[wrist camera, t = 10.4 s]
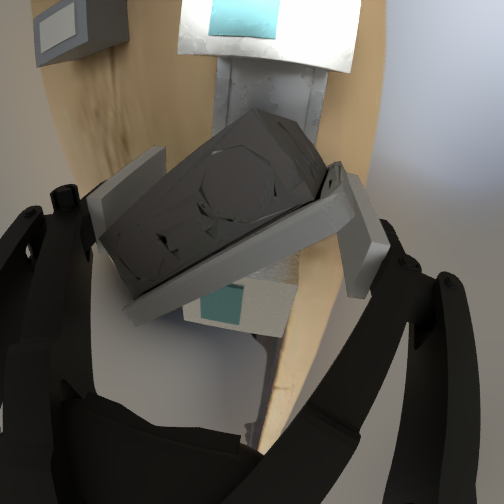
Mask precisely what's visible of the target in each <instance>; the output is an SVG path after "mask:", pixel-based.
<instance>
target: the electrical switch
mask: <svg viewBox="0 0 504 504" xmlns="http://www.w3.org/2000/svg"><path fill="white" fill-rule="evenodd" d="M255 109H256V108H255ZM256 111H257V112H258V114H259V115H260V117H261V118H262V120H263V122H264V123H265V125H266V126H267V128H268V129H269V131H270V133H271V134H272V135H271V134H270V133H269V131H268V130H267V128H266V127H265V126H264V124H263V123H262V121H261V120H260V119H259V117H258V116H257V114H256V113H255V112H254V110H253V109H251V110H249V111H248V112H247V113H245V114H244V115H242V116H241V117H239V118H238V119H237V120H235V121H234V122H232V123H231V124H230V125H228V126H227V127H225V128H224V129H223V130H221V131H220V132H219V133H217V134H216V135H215V136H213V137H212V138H211V139H209V140H208V141H207V142H206V143H204V144H203V145H202V146H200V147H199V148H198V149H197V150H195V151H194V152H193V153H192V154H190V155H189V156H188V157H187V158H185V159H184V160H183V161H182V162H180V163H179V164H178V165H177V166H176V167H174V168H173V169H172V170H171V171H170V172H169V173H167V174H166V175H165V176H164V177H163V178H162V179H160V180H159V181H158V182H157V183H156V184H155V185H154V186H153V187H151V188H150V189H149V190H148V191H147V192H146V193H145V194H144V195H143V196H141V197H140V198H139V199H138V200H137V201H136V202H135V203H134V204H133V205H132V206H131V207H130V208H129V209H128V210H127V211H126V212H124V213H123V214H122V215H121V216H120V217H119V218H118V219H117V220H116V221H115V222H114V223H113V224H112V225H111V226H110V227H109V228H108V229H107V230H106V231H105V232H104V233H103V234H102V235H101V236H100V238H99V240H100V242H101V244H102V245H103V247H104V248H105V250H106V251H107V253H108V254H109V255H110V257H111V258H112V260H113V261H114V263H115V265H116V267H117V270H118V272H119V275H120V277H121V278H122V280H123V281H124V283H125V284H126V285H127V287H128V288H129V291H130V293H131V295H132V297H133V300H132V301H130V302H129V303H128V304H127V305H125V306H124V307H123V309H122V312H123V313H124V314H125V315H126V316H127V317H128V318H129V320H130V321H131V322H132V323H133V324H134V325H135V326H139V325H141V324H143V323H145V322H148V321H150V320H152V319H154V318H157V317H159V316H161V315H163V314H165V313H168V312H170V311H172V310H175V309H177V308H179V307H181V306H183V305H186V304H188V303H190V302H192V301H194V300H196V299H199V298H201V297H203V296H205V295H207V294H209V293H212V292H214V291H216V290H218V289H220V288H222V287H225V286H227V285H229V284H231V283H233V282H235V281H237V280H240V279H242V278H244V277H246V276H248V275H250V274H252V273H254V272H256V271H259V270H261V269H263V268H265V267H267V266H269V265H271V264H273V263H275V262H277V261H280V260H282V259H284V258H286V257H288V256H290V255H292V254H294V253H296V252H298V251H300V250H302V249H304V248H307V247H309V246H311V245H313V244H315V243H317V242H319V241H321V240H323V239H325V238H327V237H329V236H331V235H333V234H335V233H337V232H338V231H339V230H340V229H342V228H343V227H344V226H345V225H346V224H347V223H348V222H349V221H350V220H351V219H352V218H353V217H354V216H355V211H354V206H353V201H352V195H351V190H350V185H349V181H348V176H347V173H346V171H345V169H344V167H343V165H342V163H341V161H338V162H334V163H332V164H330V165H329V166H327V167H326V166H325V164H324V162H323V160H322V159H321V157H320V155H319V153H318V152H317V150H316V148H315V147H314V145H313V144H312V142H311V141H310V140H309V139H308V138H307V136H306V135H305V134H304V132H303V131H302V129H301V128H300V126H299V125H298V123H297V122H296V121H293V120H290V119H287V118H284V117H281V116H278V115H275V114H272V113H269V112H266V111H262V110H259V109H256ZM272 136H273V137H272ZM220 150H222V151H220ZM214 151H220V152H217V153H215V154H212V153H213V152H214Z"/></svg>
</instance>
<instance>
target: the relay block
mask: <svg viewBox="0 0 504 504" xmlns="http://www.w3.org/2000/svg"><path fill="white" fill-rule="evenodd" d="M126 41H129V30H128V16H127V0H61V1H60V2H58V3H56V4H55V5H53V6H52V7H50V8H49V9H47V10H46V11H44V12H43V13H41V14H40V15H38V16H37V17H35V18H34V43H35V55H36V66H37V68H38V67H42V66H47V65H51V64H56V63H61V62H67V61H73V60H79V59H82V58H84V57H86V56H89V55H91V54H94V53H96V52H99V51H101V50H104V49H106V48H109V47H112V46H115V45H117V44H120V43H123V42H126Z"/></svg>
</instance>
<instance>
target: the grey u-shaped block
mask: <svg viewBox="0 0 504 504" xmlns="http://www.w3.org/2000/svg"><path fill="white" fill-rule="evenodd" d="M360 5H361V0H183V2H182V10H181V19H180V29H179V39H178V51H177V55H197V56H211V57H218V62H217V73H216V85H215V97H214V110H213V125H212V137H213V136H215V135H216V134H217V133H219V132H220V131H221V130H223V129H224V128H225V127H227V126H228V125H230V124H231V123H232V122H234V121H235V120H237V119H238V118H239V117H241V116H242V115H244V114H245V113H247V112H248V111H249V110H251V109H253V110H254V112H255V113H256V114H257V116H258V117H259V119H260V120H261V121H262V123H263V124H264V126H265V127H266V128H267V126H266V125H265V123H264V122H263V120H262V118H261V117H260V115H259V114H258V112H257V111H256V109H259V110H262V111H266V112H269V113H272V114H275V115H278V116H281V117H284V118H287V119H290V120H293V121H296V122H297V123H298V125H299V126H300V128H301V129H302V131H303V132H304V134H305V135H306V136H307V138H308V139H309V140H310V141H311V142H312V144H313V145H314V147H315V143H316V138H317V132H318V127H319V122H320V117H321V111H322V106H323V100H324V95H325V89H326V83H327V78H328V72H329V71H331V72H340V73H348V74H350V71H351V65H352V59H353V53H354V47H355V40H356V34H357V27H358V20H359V12H360ZM255 108H256V109H255ZM267 130H268V131H269V129H268V128H267ZM269 133H270V131H269ZM270 134H271V133H270ZM271 135H272V134H271ZM272 137H273V136H272ZM220 151H222V150H220ZM220 151H214V152H213V153H212V154H215V153H217V152H220ZM298 279H299V251H298V252H296V253H294V254H292V255H290V256H288V257H286V258H284V259H282V260H280V261H277V262H275V263H273V264H271V265H269V266H267V267H265V268H263V269H261V270H259V271H256V272H254V273H252V274H250V275H248V276H246V277H244V278H242V279H240V280H237V281H235V282H233V283H231V284H229V285H227V286H225V287H222V288H220V289H218V290H216V291H214V292H212V293H209V294H207V295H205V296H203V297H201V298H199V299H196V300H194V301H192V302H190V303H188V304H186V305H183V314H184V320H186V321H191V322H196V323H201V324H206V325H210V326H215V327H221V328H226V329H232V330H237V331H243V332H248V333H254V334H261V335H267V336H273V337H280V338H282V335H283V332H284V329H285V326H286V323H287V320H288V317H289V314H290V311H291V308H292V305H293V301H294V298H295V295H296V292H297V288H298Z"/></svg>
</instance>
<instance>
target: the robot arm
mask: <svg viewBox="0 0 504 504" xmlns="http://www.w3.org/2000/svg"><path fill="white" fill-rule="evenodd" d="M165 175H166V147H165V146H153V147H152V148H150V149H149V150H147V151H146V152H144V153H143V154H142V155H140V156H139V157H137V158H136V159H135V160H133V161H132V162H130V163H129V164H128V165H126V166H125V167H124V168H122V169H121V170H120V171H118V172H117V173H116V174H115V175H113V176H112V177H111V178H110V179H108V180H106V181H104V182H101V183H100V184H99V185H98V186H96V187H95V188H94V189H93V190H91V192H89V193H88V194H87V195H86V196H84V197H83V198H82V199H81V200H80V198H79V193H78V187H77V185H75V184H68V185H63V186H60V187H58V188H56V189H55V190H53V191H52V192H51V193H50V196H51V201H52V205H53V209H54V212H53V214H49V215H44V214H43V210H42V207H41V206H30V207H28V208H27V209H25V210H24V211H22V213H20V214H19V216H18V217H17V218H16V219H15V221H14V222H13V223H12V224H11V226H10V227H9V228H8V229H7V231H6V232H5V233H4V235H3V236H2V237H1V239H0V408H1V405H2V402H3V432H2V433H1V428H0V504H320V503H321V502H322V501H323V499H324V498H325V497H326V495H327V494H328V492H329V491H330V490H331V488H332V487H333V485H334V484H335V482H336V481H337V479H338V478H339V476H340V475H341V473H342V472H343V470H344V468H345V467H346V465H347V464H348V462H349V460H350V459H351V457H352V455H353V454H354V452H355V450H356V448H357V446H358V444H359V442H360V438H361V435H360V434H359V431H360V428H361V426H362V424H363V422H364V420H365V418H366V417H367V415H368V413H369V411H370V409H371V407H372V405H373V403H374V401H375V399H376V397H377V394H378V392H379V390H380V388H381V386H382V384H383V381H384V379H385V377H386V375H387V372H388V370H389V368H390V365H391V363H392V360H393V358H394V355H395V353H396V350H397V348H398V345H399V342H400V339H401V337H402V334H403V331H404V328H405V325H406V323H407V322H409V340H408V342H409V343H408V359H407V372H406V383H405V392H404V400H403V407H402V414H401V421H400V427H399V432H398V437H397V442H396V447H395V452H394V456H393V460H392V465H391V469H390V472H389V476H388V480H387V484H386V488H385V492H384V496H383V502H382V504H477V498H476V486H475V483H476V476H477V469H478V458H479V447H480V385H479V373H478V362H477V354H476V346H475V339H474V333H473V327H472V322H471V317H470V312H469V307H468V302H467V298H466V293H465V289H464V286H463V284H462V283H461V281H460V280H459V278H458V277H456V276H455V275H453V274H451V273H449V272H441V273H439V275H438V276H437V278H436V279H434V278H432V277H429V276H427V275H425V274H423V273H421V272H422V269H421V266H420V264H419V263H418V262H417V260H416V259H414V258H413V257H411V256H410V255H407V254H405V251H404V249H403V247H402V245H401V243H400V241H399V240H398V239H399V238H398V237H397V235H396V232H395V230H394V229H393V227H392V226H391V224H390V223H388V221H387V220H383V219H379V218H378V216H377V214H376V212H375V209H374V208H373V205H372V203H371V201H370V199H369V197H368V195H367V193H366V191H365V189H364V187H363V185H362V183H361V181H360V179H359V177H358V175H354V174H350V173H347V176H348V181H349V185H350V190H351V195H352V201H353V206H354V211H355V216H354V217H353V218H352V219H351V220H350V221H349V222H348V223H347V224H346V225H345V226H344V227H343V228H342V229H340V230H339V231H338V232H337V237H338V243H339V248H340V253H341V259H342V265H343V271H344V277H345V283H346V289H347V295H348V297H352V298H359V299H365V297H366V295H367V294H368V292H369V290H370V291H371V295H372V297H371V299H370V301H369V303H368V305H367V306H366V308H365V310H364V312H363V313H362V316H361V317H360V319H359V321H358V323H357V324H356V326H355V328H354V330H353V331H352V333H351V335H350V336H349V338H348V340H347V341H346V343H345V345H344V346H343V348H342V350H341V351H340V353H339V355H338V356H337V358H336V359H335V361H334V362H333V364H332V365H331V367H330V368H329V370H328V372H327V373H326V375H325V376H324V378H323V379H322V381H321V382H320V383H319V385H318V387H317V388H316V389H315V391H314V392H313V394H312V395H311V397H310V398H309V399H308V401H307V402H306V403H305V405H304V406H303V408H302V409H301V410H300V411H299V413H298V414H297V416H296V417H295V418H294V419H293V421H292V422H291V423H290V425H289V426H288V427H287V429H286V430H285V431H284V432H283V433H282V435H281V436H280V437H279V438H278V440H277V441H276V442H275V443H274V444H273V446H272V447H271V448H270V449H269V450H268V452H267V453H266V454H265V455H263V454H261V453H260V452H258V451H257V450H255V449H253V448H251V447H249V446H247V445H245V444H242V443H240V439H241V435H235V434H229V433H224V432H218V431H214V430H209V429H204V428H200V427H162V426H155V425H153V424H151V423H149V422H147V421H146V420H144V419H143V418H141V417H139V416H137V415H136V414H135V413H133V412H132V411H130V410H129V409H127V408H126V407H124V406H123V405H121V404H119V403H117V402H114V401H111V400H109V399H106V398H104V397H101V396H99V395H97V393H96V390H95V387H94V381H93V369H92V356H91V355H92V354H91V326H90V325H91V324H90V323H91V321H90V310H91V304H90V303H91V278H92V262H93V252H92V248H91V246H92V245H93V244H94V243H95V242H96V244H97V248H98V251H99V252H100V253H105V254H108V253H107V251H106V250H105V248H104V247H103V245H102V244H101V242H100V240H99V238H100V236H101V235H102V234H103V233H104V232H105V231H106V230H107V229H108V228H109V227H110V226H111V225H112V224H113V223H114V222H115V221H116V220H117V219H118V218H119V217H120V216H121V215H122V214H123V213H124V212H126V211H127V210H128V209H129V208H130V207H131V206H132V205H133V204H134V203H135V202H136V201H137V200H138V199H139V198H140V197H141V196H143V195H144V194H145V193H146V192H147V191H148V190H149V189H150V188H151V187H153V186H154V185H155V184H156V183H157V182H158V181H159V180H160V179H162V178H163V177H164V176H165ZM27 246H28V248H29V251H30V254H31V255H30V257H29V258H28V257H27V255H26V247H27Z"/></svg>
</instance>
